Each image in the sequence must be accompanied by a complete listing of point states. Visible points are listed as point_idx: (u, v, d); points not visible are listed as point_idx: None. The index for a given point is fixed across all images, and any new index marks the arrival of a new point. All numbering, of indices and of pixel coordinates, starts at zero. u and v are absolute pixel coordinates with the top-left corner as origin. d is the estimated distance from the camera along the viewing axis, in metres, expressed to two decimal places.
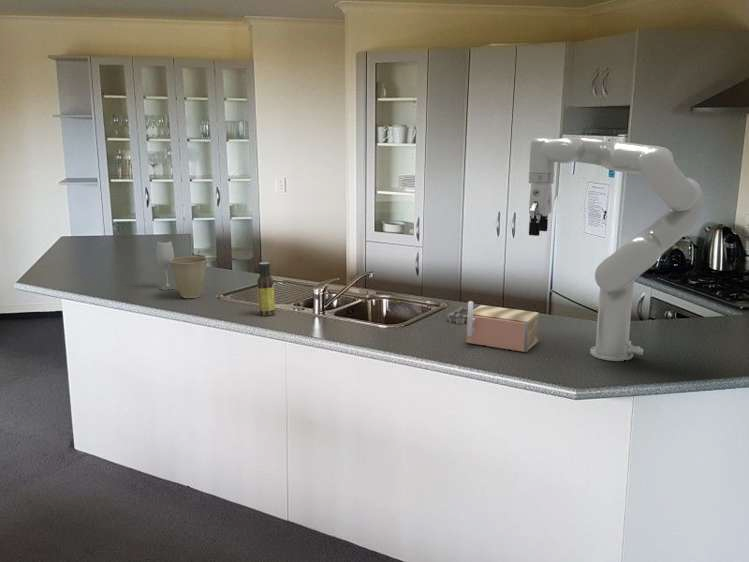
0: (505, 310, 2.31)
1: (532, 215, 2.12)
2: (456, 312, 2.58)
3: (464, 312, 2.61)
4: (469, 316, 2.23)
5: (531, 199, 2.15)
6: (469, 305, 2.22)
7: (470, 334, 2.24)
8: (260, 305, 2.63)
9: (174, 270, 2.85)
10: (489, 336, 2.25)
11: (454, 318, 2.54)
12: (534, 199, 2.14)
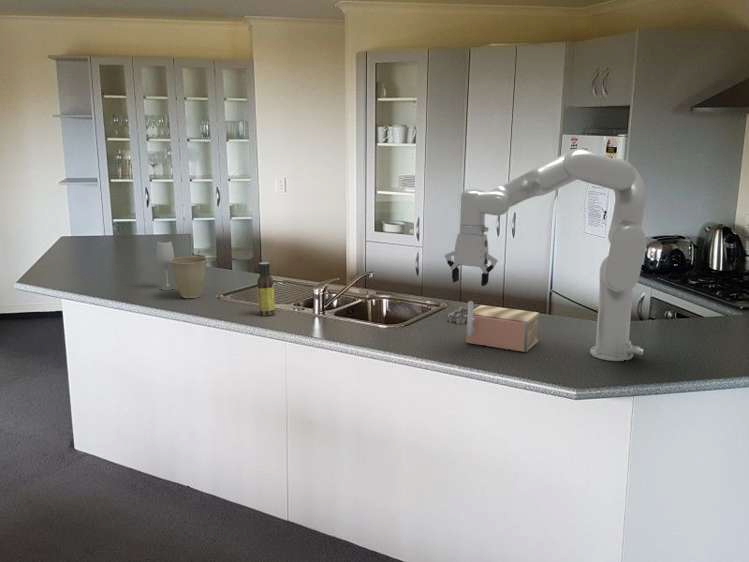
0: (505, 310, 2.31)
1: (494, 265, 2.16)
2: (456, 312, 2.58)
3: (464, 312, 2.61)
4: (469, 316, 2.23)
5: (484, 251, 2.15)
6: (469, 305, 2.22)
7: (470, 334, 2.24)
8: (260, 305, 2.63)
9: (174, 270, 2.85)
10: (489, 336, 2.25)
11: (454, 318, 2.54)
12: (485, 250, 2.16)
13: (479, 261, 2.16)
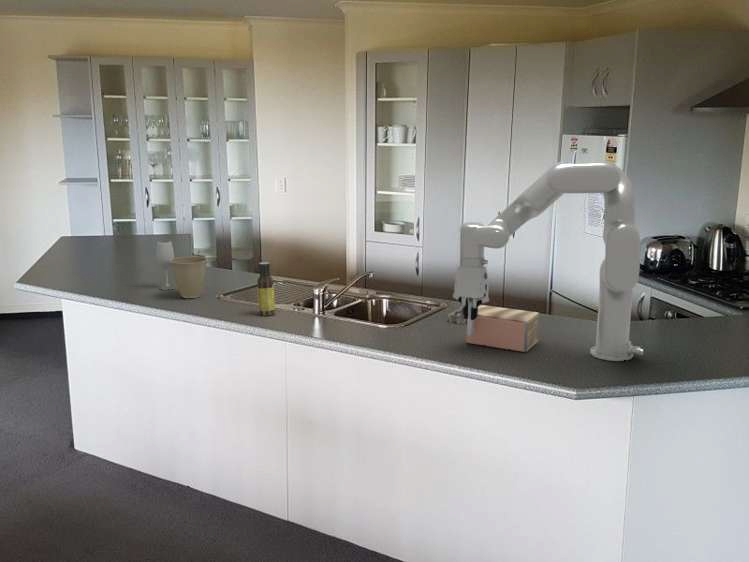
0: (505, 310, 2.31)
1: (483, 302, 2.20)
2: (456, 312, 2.58)
3: None
4: (469, 316, 2.23)
5: (483, 283, 2.18)
6: (469, 305, 2.22)
7: (470, 334, 2.24)
8: (260, 305, 2.63)
9: (174, 270, 2.85)
10: (489, 336, 2.25)
11: (455, 318, 2.54)
12: (485, 282, 2.18)
13: (479, 293, 2.18)
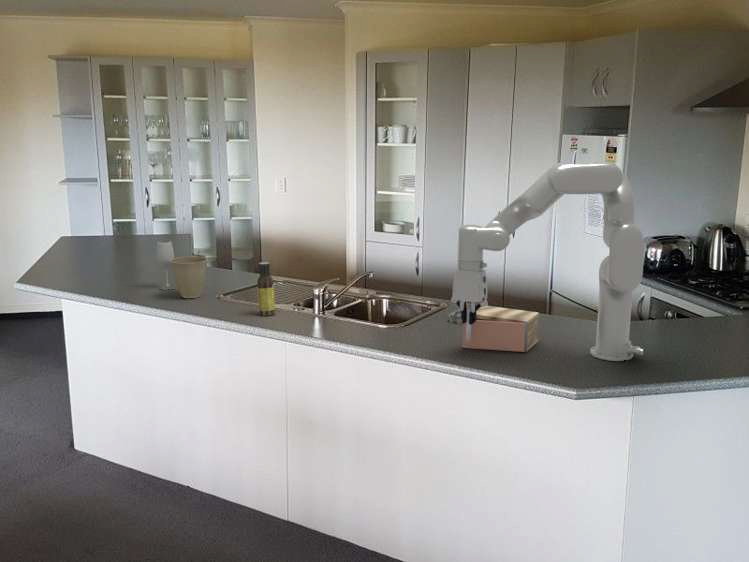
0: (505, 310, 2.31)
1: (482, 306, 2.16)
2: (457, 312, 2.58)
3: None
4: (468, 320, 2.18)
5: (482, 287, 2.13)
6: (468, 309, 2.18)
7: (469, 338, 2.20)
8: (260, 305, 2.63)
9: (174, 270, 2.85)
10: (487, 339, 2.22)
11: (455, 318, 2.53)
12: (484, 286, 2.13)
13: (478, 297, 2.13)
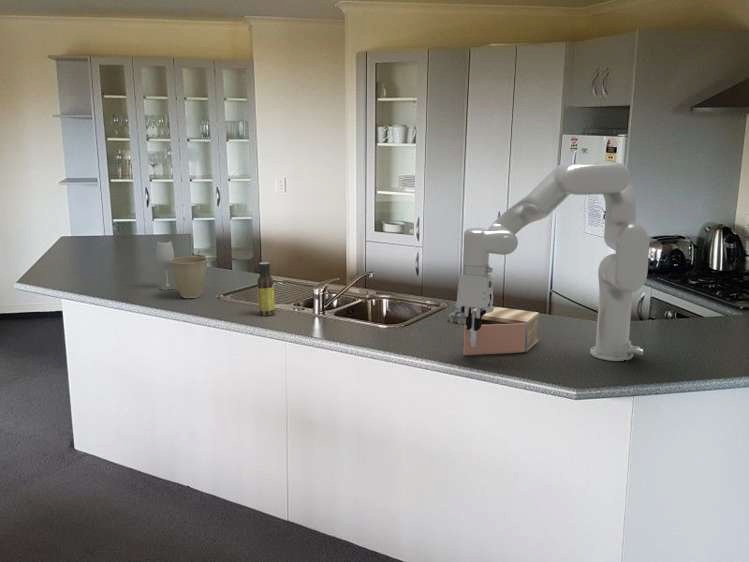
0: (505, 310, 2.31)
1: (487, 312, 2.09)
2: (457, 312, 2.58)
3: None
4: None
5: (488, 292, 2.06)
6: (474, 315, 2.11)
7: (475, 345, 2.13)
8: (260, 305, 2.63)
9: (174, 270, 2.85)
10: (489, 343, 2.17)
11: (456, 318, 2.53)
12: (489, 291, 2.07)
13: (483, 303, 2.07)
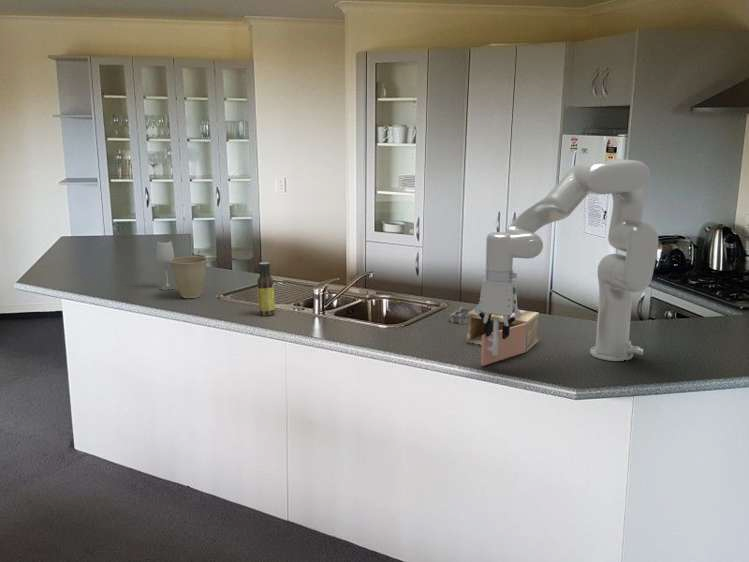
0: None
1: (516, 319, 2.00)
2: (457, 312, 2.58)
3: (464, 312, 2.61)
4: (497, 334, 2.04)
5: (512, 299, 1.98)
6: (497, 322, 2.03)
7: (497, 353, 2.06)
8: (260, 305, 2.63)
9: (174, 270, 2.85)
10: (501, 349, 2.12)
11: (456, 318, 2.53)
12: (514, 298, 1.99)
13: (507, 310, 1.99)
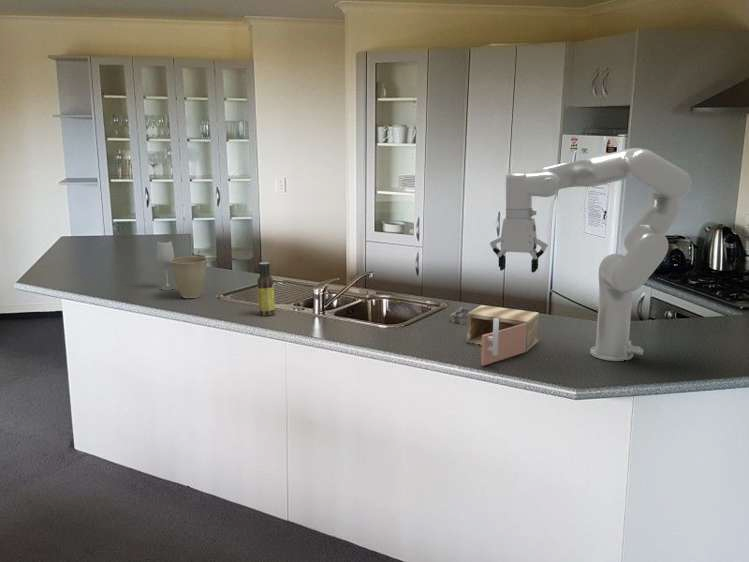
0: (505, 310, 2.31)
1: (544, 250, 2.06)
2: (457, 312, 2.58)
3: (464, 312, 2.61)
4: (497, 334, 2.04)
5: (533, 235, 2.06)
6: (497, 322, 2.03)
7: (497, 353, 2.06)
8: (260, 305, 2.63)
9: (174, 270, 2.85)
10: (501, 349, 2.12)
11: (457, 318, 2.53)
12: (534, 235, 2.06)
13: (528, 246, 2.06)
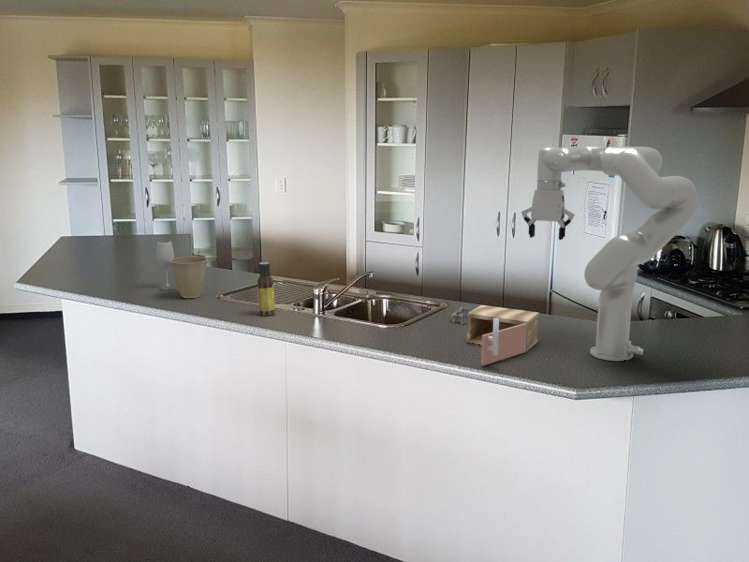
0: (505, 310, 2.31)
1: (571, 219, 2.25)
2: (458, 312, 2.58)
3: (464, 312, 2.61)
4: (497, 334, 2.04)
5: (561, 205, 2.24)
6: (497, 322, 2.03)
7: (497, 353, 2.06)
8: (260, 305, 2.63)
9: (174, 270, 2.85)
10: (501, 349, 2.12)
11: (458, 318, 2.53)
12: (562, 205, 2.25)
13: (557, 215, 2.25)
